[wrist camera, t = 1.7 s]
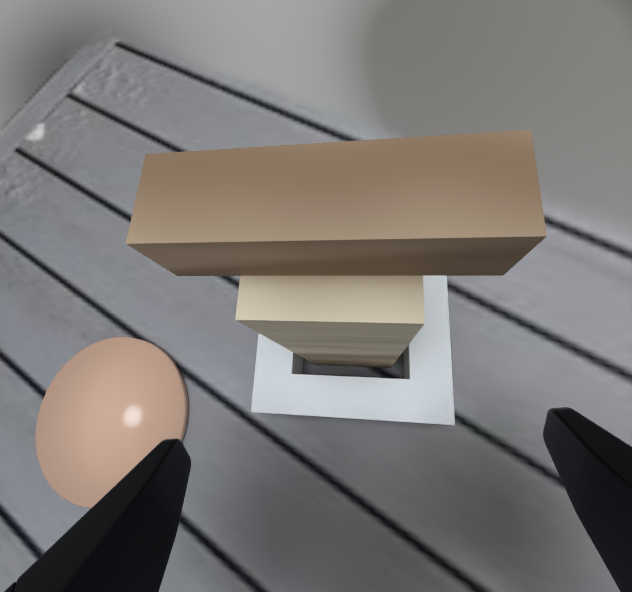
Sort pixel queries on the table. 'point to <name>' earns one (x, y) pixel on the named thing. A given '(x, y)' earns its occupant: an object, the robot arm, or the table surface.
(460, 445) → the table surface
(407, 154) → the wooden block tower
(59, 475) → the peach flat disc
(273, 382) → the socket
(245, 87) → the table surface
